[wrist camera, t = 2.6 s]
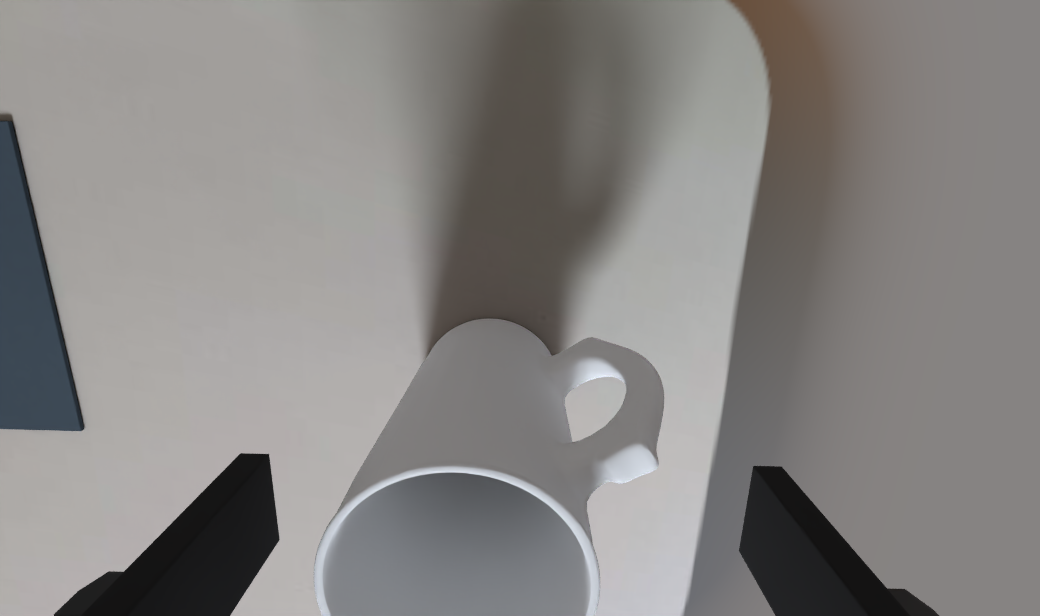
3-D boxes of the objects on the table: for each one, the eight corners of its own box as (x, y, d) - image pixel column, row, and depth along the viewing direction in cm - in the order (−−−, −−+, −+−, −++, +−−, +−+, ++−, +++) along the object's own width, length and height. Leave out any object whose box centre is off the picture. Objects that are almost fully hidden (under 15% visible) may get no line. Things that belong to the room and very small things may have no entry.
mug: (469, 469, 25) (419, 734, 13) (388, 359, 23) (253, 550, 12) (652, 369, 23) (777, 570, 12) (579, 244, 22) (640, 334, 10)
